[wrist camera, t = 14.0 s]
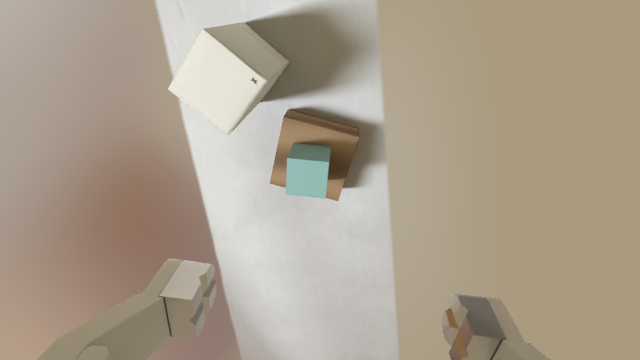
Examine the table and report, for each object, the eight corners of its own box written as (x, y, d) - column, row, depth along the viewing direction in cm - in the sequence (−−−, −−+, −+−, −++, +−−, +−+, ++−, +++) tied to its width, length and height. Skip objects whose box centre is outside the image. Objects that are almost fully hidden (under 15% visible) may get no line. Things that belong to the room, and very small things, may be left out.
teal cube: (293, 142, 43) (287, 158, 38) (330, 146, 43) (329, 162, 38) (291, 176, 45) (285, 194, 41) (327, 180, 45) (325, 198, 40)
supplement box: (243, 20, 39) (203, 24, 28) (291, 62, 41) (270, 81, 30) (212, 67, 42) (164, 88, 31) (258, 104, 44) (228, 137, 33)
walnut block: (288, 108, 45) (283, 116, 41) (358, 127, 45) (359, 137, 42) (275, 171, 49) (269, 183, 46) (338, 187, 50) (337, 200, 46)
